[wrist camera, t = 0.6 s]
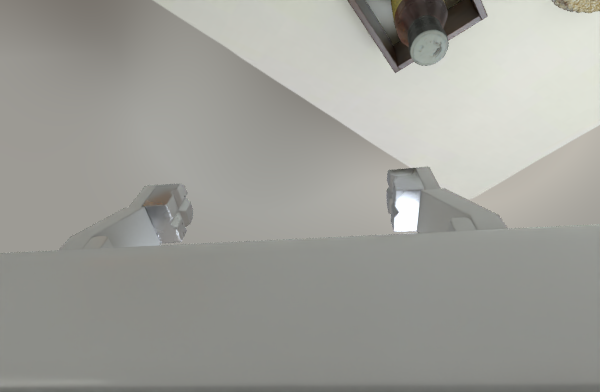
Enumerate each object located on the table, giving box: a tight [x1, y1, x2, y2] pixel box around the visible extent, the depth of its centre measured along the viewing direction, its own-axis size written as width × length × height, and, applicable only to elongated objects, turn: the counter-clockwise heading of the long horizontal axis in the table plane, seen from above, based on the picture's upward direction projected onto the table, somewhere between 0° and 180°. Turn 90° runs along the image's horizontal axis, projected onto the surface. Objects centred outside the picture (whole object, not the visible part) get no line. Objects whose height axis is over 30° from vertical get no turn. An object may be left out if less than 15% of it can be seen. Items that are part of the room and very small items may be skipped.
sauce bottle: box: [391, 0, 449, 66], centre depth 44 cm, size 7×6×20 cm
